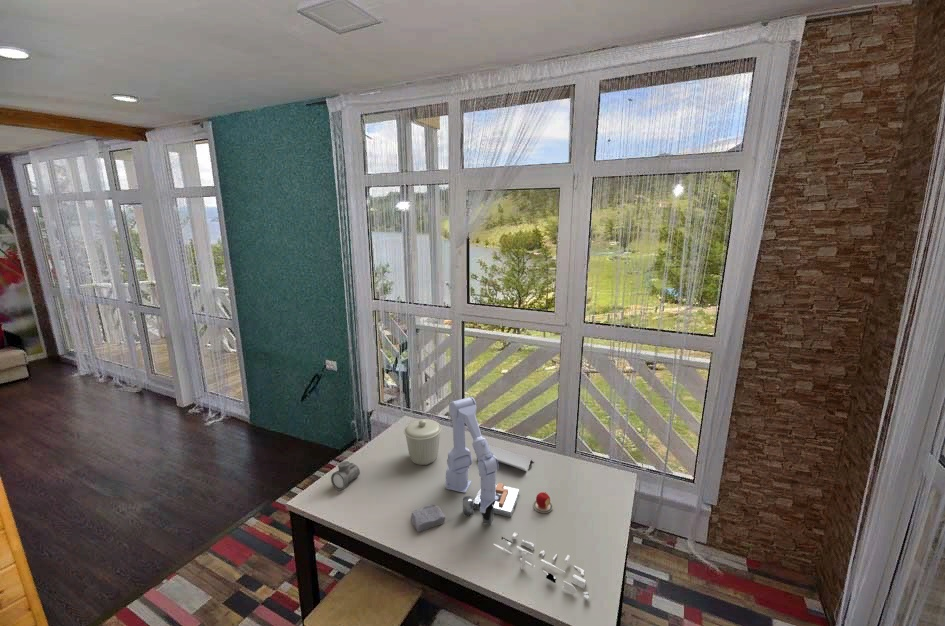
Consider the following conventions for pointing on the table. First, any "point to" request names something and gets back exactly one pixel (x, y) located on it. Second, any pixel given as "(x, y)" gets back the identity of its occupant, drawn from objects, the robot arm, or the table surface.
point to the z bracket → (511, 458)
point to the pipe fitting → (344, 474)
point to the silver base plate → (508, 503)
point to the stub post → (468, 506)
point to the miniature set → (567, 586)
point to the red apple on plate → (543, 503)
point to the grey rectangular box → (490, 517)
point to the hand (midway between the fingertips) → (488, 515)
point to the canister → (423, 440)
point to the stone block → (427, 517)
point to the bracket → (501, 490)
